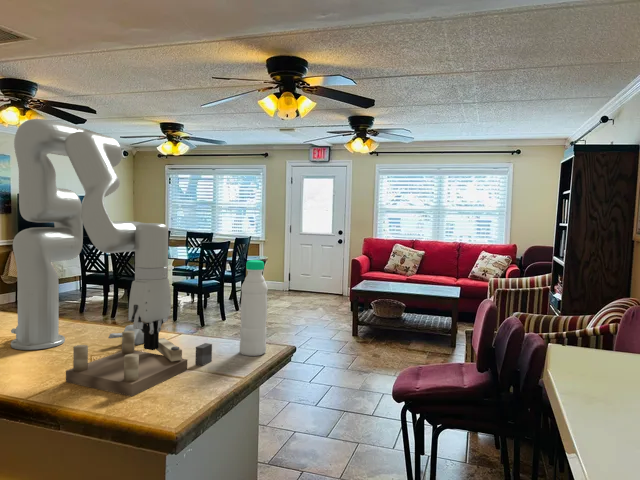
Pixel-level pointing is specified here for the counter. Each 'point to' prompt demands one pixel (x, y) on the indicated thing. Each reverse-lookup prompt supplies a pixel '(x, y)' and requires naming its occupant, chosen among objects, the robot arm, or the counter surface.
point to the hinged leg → (169, 350)
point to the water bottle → (253, 310)
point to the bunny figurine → (138, 334)
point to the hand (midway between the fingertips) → (151, 348)
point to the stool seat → (128, 368)
